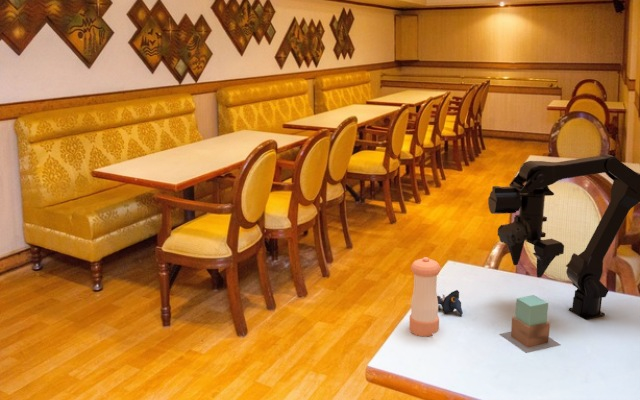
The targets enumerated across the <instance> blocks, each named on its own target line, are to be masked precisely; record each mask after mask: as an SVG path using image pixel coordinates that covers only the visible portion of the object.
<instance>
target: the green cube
mask: <svg viewBox="0 0 640 400" xmlns="http://www.w3.org/2000/svg"><path fill="white" fill-rule="evenodd" d="M515 300H516V302H515V315H514V317H515V318H517V319H518V320H520V321H521V322H523V323H525V324H526V325H528V326H533V325H538V324H543V323H547V322H548V313H549V311H548V310H549V302H547V301H546V300H544V299H542V298H540V297H539V296H536V295H534V294H532V295H531V294H530V295H526V296H522V297H516V299H515Z"/></svg>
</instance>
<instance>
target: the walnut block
mask: <svg viewBox="0 0 640 400" xmlns="http://www.w3.org/2000/svg"><path fill="white" fill-rule="evenodd" d="M550 327H551V323H550V322H549V321H547V323H543V324H538V325H533V326H528V325H526V324H525V323H523V322H521V321H520V320H518V319H517V318H515V316H512V317H511V329H510V330H511V331H510V332H511V337H513V338H514V339H516V340H517V341H519V342H520V343H522V344H523V345H525V346H526V347H531V346H536V345H540V344H544V343H548V340H549V338H550Z"/></svg>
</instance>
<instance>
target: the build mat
mask: <svg viewBox="0 0 640 400" xmlns="http://www.w3.org/2000/svg"><path fill="white" fill-rule="evenodd" d="M498 335H499V336H501V337H502V338H503V339H505V340H506V341H508V342H509V343H511V344H512V345H514V346H515V347H517V348H518V349H519V350H520V351H522V352H524V353H525V354H528V353H532V352H537V351H542V350H545V349H551V348H554V347H559V346H561V345H562V344H561V343H559V342H558V341H557V340H556V341H555V340H554V339H553V338H551V337H549V340H548V343H544V344H540V345H536V346H531V347H526V346H525V345H523V344H522V343H520V342H519V341H517V340H516V339H514V338H513V337H511V331H507V332H503V333H499V334H498Z"/></svg>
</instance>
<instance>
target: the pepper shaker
mask: <svg viewBox="0 0 640 400" xmlns="http://www.w3.org/2000/svg"><path fill="white" fill-rule="evenodd" d="M410 270H411V272H412V273H413V291H412V296H411V302H410V303H411V304H410V311H411V312H410V315H409V326H408V329H409V332H410V333H412V334H413V335H415V336H420V337H433V336H434V334H436V333H437V332H438V331H439V330H440V317H439V315H438V314H439V304H438V299H437V296H438V291H437V284H438V283H437V280H438V279H437V278H438V275H439V273H440V272H441V266H440V264H439V263H438V261H436V260H434V259H431V258H429V257H427V256H424V257H423V258H419V259H416V260H414V261H413V263H412V264H411V267H410Z"/></svg>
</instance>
